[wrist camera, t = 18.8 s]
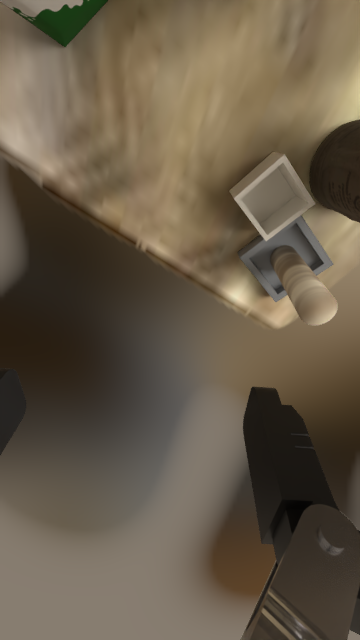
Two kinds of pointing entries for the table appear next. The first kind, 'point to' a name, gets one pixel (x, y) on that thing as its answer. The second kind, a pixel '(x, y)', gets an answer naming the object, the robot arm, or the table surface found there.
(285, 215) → the light grey square box
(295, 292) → the birch pin
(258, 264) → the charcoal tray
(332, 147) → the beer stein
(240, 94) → the table surface
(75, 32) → the milk carton
